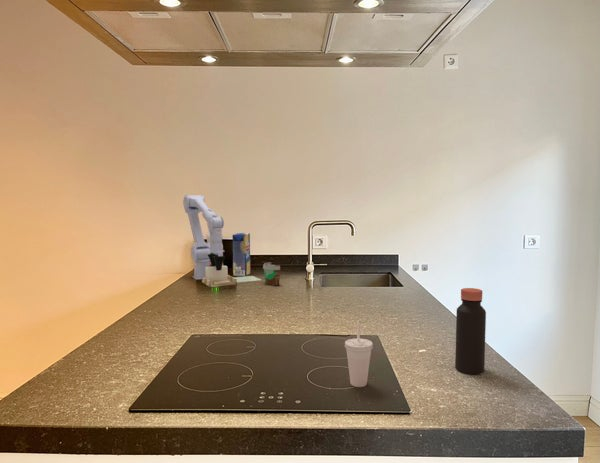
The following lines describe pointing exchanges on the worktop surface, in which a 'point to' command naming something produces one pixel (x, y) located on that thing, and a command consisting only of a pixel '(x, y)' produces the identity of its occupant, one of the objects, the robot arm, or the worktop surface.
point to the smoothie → (358, 359)
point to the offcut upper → (221, 282)
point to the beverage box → (241, 254)
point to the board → (247, 279)
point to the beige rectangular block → (216, 273)
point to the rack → (210, 283)
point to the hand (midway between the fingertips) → (216, 269)
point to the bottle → (470, 332)
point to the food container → (271, 274)
